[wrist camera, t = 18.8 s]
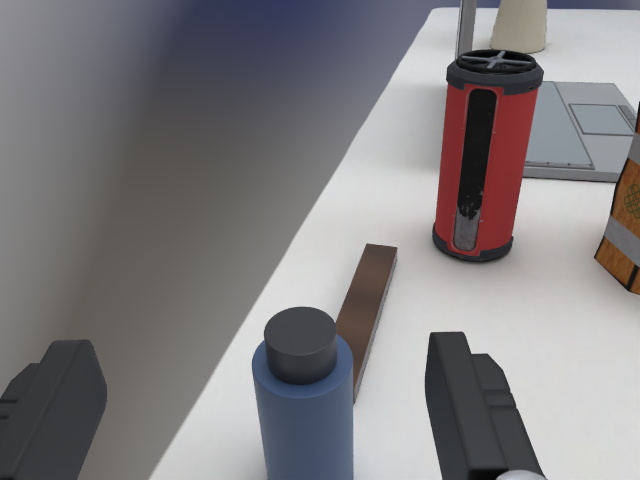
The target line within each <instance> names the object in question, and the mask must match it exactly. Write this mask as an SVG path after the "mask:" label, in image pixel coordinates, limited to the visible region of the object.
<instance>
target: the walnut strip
mask: <svg viewBox="0 0 640 480" xmlns="http://www.w3.org/2000/svg"><path fill="white" fill-rule="evenodd" d="M396 261H397V247H391V246H383V245H376V244H368V243H367V244H366V246H365V249H364V252H363V254H362V257H361V259H360V262H359V264H358V267H357V269H356V272H355V275H354V277H353V280H352V282H351V285H350V287H349V290H348V292H347V295H346V298H345V300H344V303H343V305H342V308H341V310H340V313H339V315H338V318H337V321H336V323H335V324H336V329H337V334H338V335H339V336H340V337H342V338H343V339H344V340H345V341H346V343H347V344H348V346H349V347H350V349H351V352H352V356H353V403H355V400H356V397H357V393H358V390H359V387H360V383H361V380H362V376H363V373H364V370H365V366H366V363H367V359H368V356H369V353H370V349H371V346H372V342H373V339H374V336H375V332H376V329H377V325H378V322H379V319H380V315H381V312H382V309H383V305H384V302H385V298H386V295H387V292H388V288H389V285H390V281H391V278H392V275H393V271H394V268H395V264H396Z"/></svg>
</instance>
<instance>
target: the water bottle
mask: <svg viewBox="0 0 640 480" xmlns="http://www.w3.org/2000/svg"><path fill="white" fill-rule="evenodd" d="M264 339H265V340H264V341H263V342H262V343H261V344H260V345H259V346H258V348H257V349H256V351H255V353H254V355H253V359H252V372H253V379H254V386H255V393H256V400H257V407H258V414H259V421H260V428H261V435H262V442H263V449H264V456H265V463H266V470H267V477H268V480H353V356H352V352H351V349H350V347H349V346H348V344H347V343H346V341H345V340H344V339H343V338H342V337H340V336H339V335H338V334H337V329H336V324H335V322H334V320H333V319H332V318H331V317H330V316H329V315H328V314H327V313H325V312H323V311H321V310H319V309H316V308H312V307H294V308H289V309H286V310H283V311H281V312H279V313H277V314H276V315H274V316H273V317H272V318H271V319H270V320H269V321H268V323H267V324H266V327H265V330H264Z"/></svg>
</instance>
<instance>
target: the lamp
mask: <svg viewBox="0 0 640 480" xmlns="http://www.w3.org/2000/svg"><path fill="white" fill-rule="evenodd" d="M546 23H547V0H501V3H500V7H499V10H498V14H497V17H496V21H495V24H494V27H493V33H492V37H491V41H490V46H491V48H492V49H495V50H509V51H516V52H521V53H534V52H539V51H541V50H543V48H544V47H545V43H546V30H547V27H546Z"/></svg>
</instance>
